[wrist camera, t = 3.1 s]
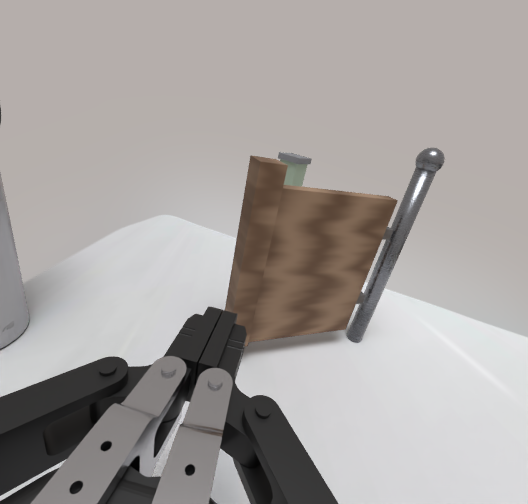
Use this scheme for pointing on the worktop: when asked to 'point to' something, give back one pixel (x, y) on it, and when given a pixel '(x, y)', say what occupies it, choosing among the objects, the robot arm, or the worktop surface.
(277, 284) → the gate
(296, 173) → the post
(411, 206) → the hinge post
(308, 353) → the worktop surface
